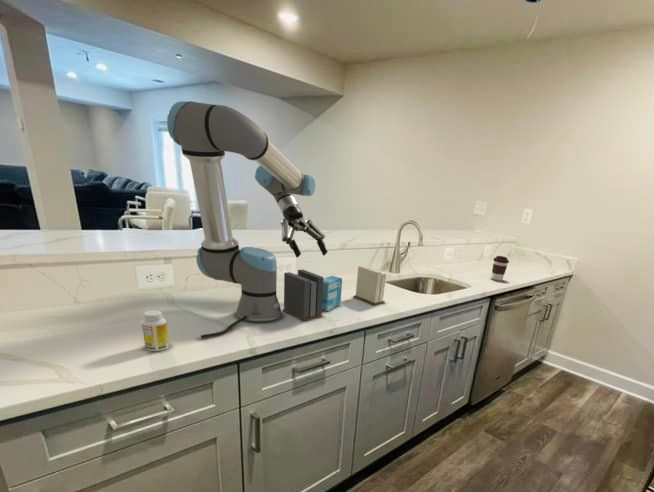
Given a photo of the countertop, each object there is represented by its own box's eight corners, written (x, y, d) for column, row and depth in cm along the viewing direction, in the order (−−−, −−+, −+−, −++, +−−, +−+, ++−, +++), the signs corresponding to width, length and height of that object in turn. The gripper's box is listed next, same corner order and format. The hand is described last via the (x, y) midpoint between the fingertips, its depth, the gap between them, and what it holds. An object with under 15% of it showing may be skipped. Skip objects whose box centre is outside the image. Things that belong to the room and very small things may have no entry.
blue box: (326, 312, 151) (328, 282, 146) (316, 309, 152) (318, 280, 147) (340, 304, 162) (342, 277, 157) (331, 302, 163) (332, 275, 158)
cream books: (374, 305, 167) (377, 273, 161) (353, 297, 174) (356, 266, 169) (384, 303, 172) (388, 271, 167) (364, 295, 179) (367, 264, 174)
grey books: (304, 320, 139) (305, 279, 133) (283, 310, 146) (283, 270, 140) (322, 316, 145) (324, 277, 139) (301, 307, 153) (302, 269, 147)
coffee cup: (504, 282, 249) (509, 259, 243) (489, 279, 250) (494, 256, 244) (504, 279, 258) (509, 257, 252) (489, 276, 259) (494, 254, 253)
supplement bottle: (170, 343, 109) (166, 309, 106) (167, 351, 105) (163, 316, 101) (147, 344, 107) (142, 309, 103) (143, 352, 103) (138, 316, 99)
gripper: (310, 216, 170) (331, 257, 168) (260, 215, 151) (282, 261, 149) (318, 206, 165) (340, 248, 163) (267, 203, 147) (291, 250, 144)
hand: (312, 254), depth 156 cm, fingers open, 13 cm apart
